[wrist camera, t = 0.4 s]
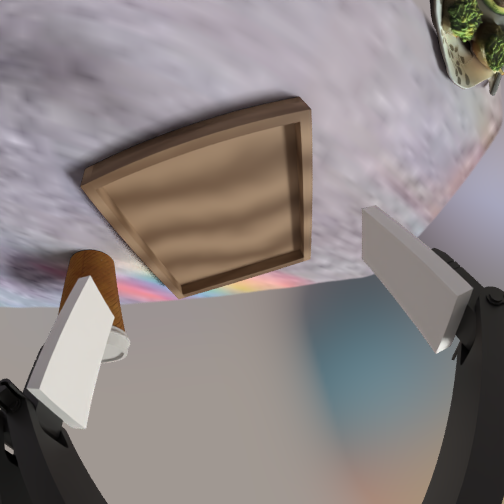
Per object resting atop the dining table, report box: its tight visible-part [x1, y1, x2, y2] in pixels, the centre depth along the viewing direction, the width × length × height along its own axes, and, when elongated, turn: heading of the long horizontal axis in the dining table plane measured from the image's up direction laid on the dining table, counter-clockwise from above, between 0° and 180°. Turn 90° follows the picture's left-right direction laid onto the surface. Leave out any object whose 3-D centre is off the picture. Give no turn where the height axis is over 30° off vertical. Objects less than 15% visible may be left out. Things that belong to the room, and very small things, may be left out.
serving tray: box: [80, 97, 312, 299], centre depth 31 cm, size 24×20×2 cm
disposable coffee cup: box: [58, 250, 130, 363], centre depth 29 cm, size 10×10×12 cm
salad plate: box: [430, 0, 504, 96], centre depth 13 cm, size 19×18×5 cm
